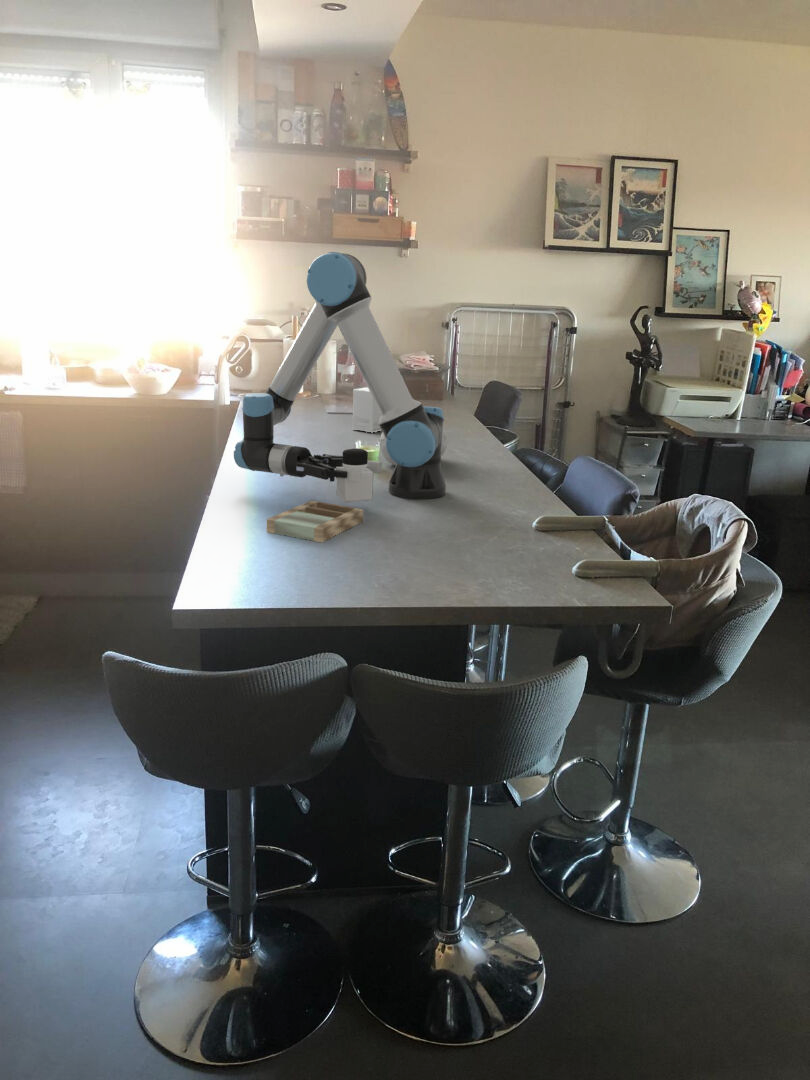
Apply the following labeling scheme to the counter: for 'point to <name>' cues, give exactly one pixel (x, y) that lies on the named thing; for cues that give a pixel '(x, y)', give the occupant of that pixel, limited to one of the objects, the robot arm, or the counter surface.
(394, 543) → the counter surface
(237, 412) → the counter surface
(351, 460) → the medicine bottle
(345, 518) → the board
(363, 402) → the supplement box
